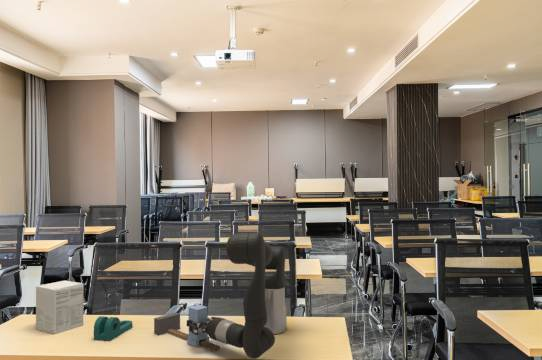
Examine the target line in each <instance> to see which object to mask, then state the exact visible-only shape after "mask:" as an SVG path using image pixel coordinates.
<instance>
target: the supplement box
mask: <svg viewBox="0 0 542 360" xmlns="http://www.w3.org/2000/svg"><path fill="white" fill-rule="evenodd" d="M81 326H84V282H83V283H82V282H76V281H70V280H65V279H64V280H60V281H56V282H51V283H45V284H40V285H36V286H35V330H39V331H42V332H46V333H50V334H52V335H56V334H58V333H62V332H66V331H69V330H72V329H75V328H78V327H81Z"/></svg>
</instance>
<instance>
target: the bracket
mask: <svg viewBox="0 0 542 360" xmlns="http://www.w3.org/2000/svg"><path fill="white" fill-rule="evenodd" d="M131 329H133V321H132V320H120V318H119V317H116V316H115V317H114V316H110V317H108V316H101V315H100V316H98V317H97V318H96V320H95V321H94V325H93V341H98V342H99V341H101V342H102V341H104V342H111V341H113V340H115V339H116V338H118V337H120V336H121V335H123V334H125V333H126V332H128V331H130V330H131Z"/></svg>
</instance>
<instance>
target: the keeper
mask: <svg viewBox="0 0 542 360" xmlns="http://www.w3.org/2000/svg"><path fill="white" fill-rule="evenodd" d="M208 313H209V312H208V306H205V305H201V304H197V305H193V306H192V305H191V306H190V307H188V320H192V321H195V322H199V321H205V322H206V321H208V320H207V319H208V317H209V316H208V315H209V314H208ZM196 326H197V324H196ZM188 334H189V338H187V341H186V343H187V345H189V346H192V347H195V348H196V347H200V346H199V340H205V341H208V342H210V337H209V335H208V334H207V333H203V332H198V335H195V334H193V333H192V332H190V331H189V330H188Z"/></svg>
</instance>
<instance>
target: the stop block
mask: <svg viewBox="0 0 542 360" xmlns="http://www.w3.org/2000/svg"><path fill="white" fill-rule="evenodd" d="M153 321H154V322H153V326H154V327H153V329H154V330H153V334H154V335H157V336H161V335H164V334H168V333H167V330H168V329H172V328H173V329H175V330H178V331H179V330H180V329H181V313H178V312H174V313H173V312H172V313H169V314H165V315H162V316H157V317H154V318H153Z"/></svg>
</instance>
